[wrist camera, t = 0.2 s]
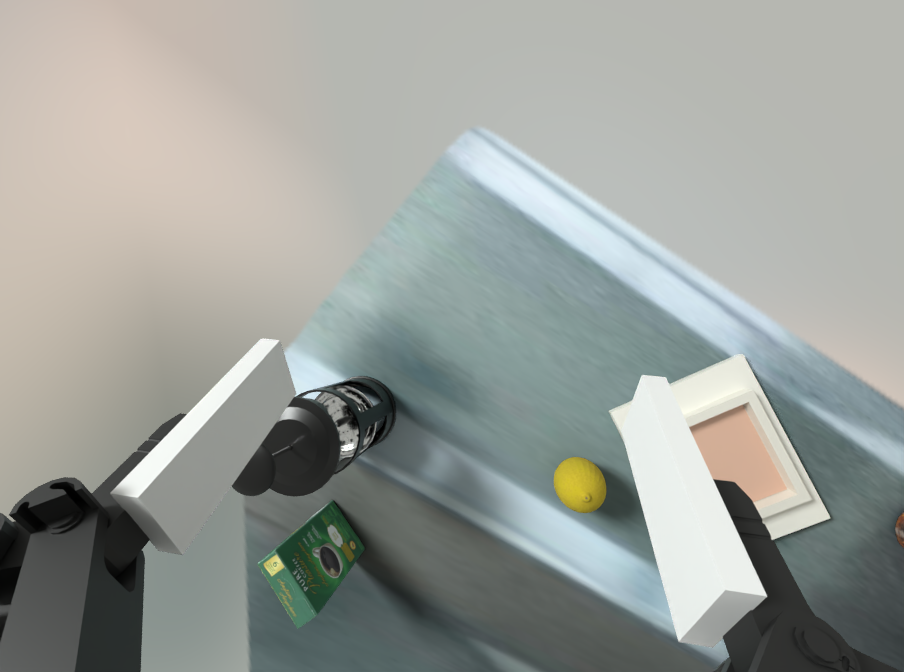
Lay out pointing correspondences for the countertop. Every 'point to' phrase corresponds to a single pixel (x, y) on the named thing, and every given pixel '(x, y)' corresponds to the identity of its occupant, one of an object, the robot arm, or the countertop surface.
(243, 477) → the french press
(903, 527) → the sauce bottle
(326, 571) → the coffee box
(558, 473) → the lemon
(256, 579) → the countertop surface
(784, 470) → the tray
